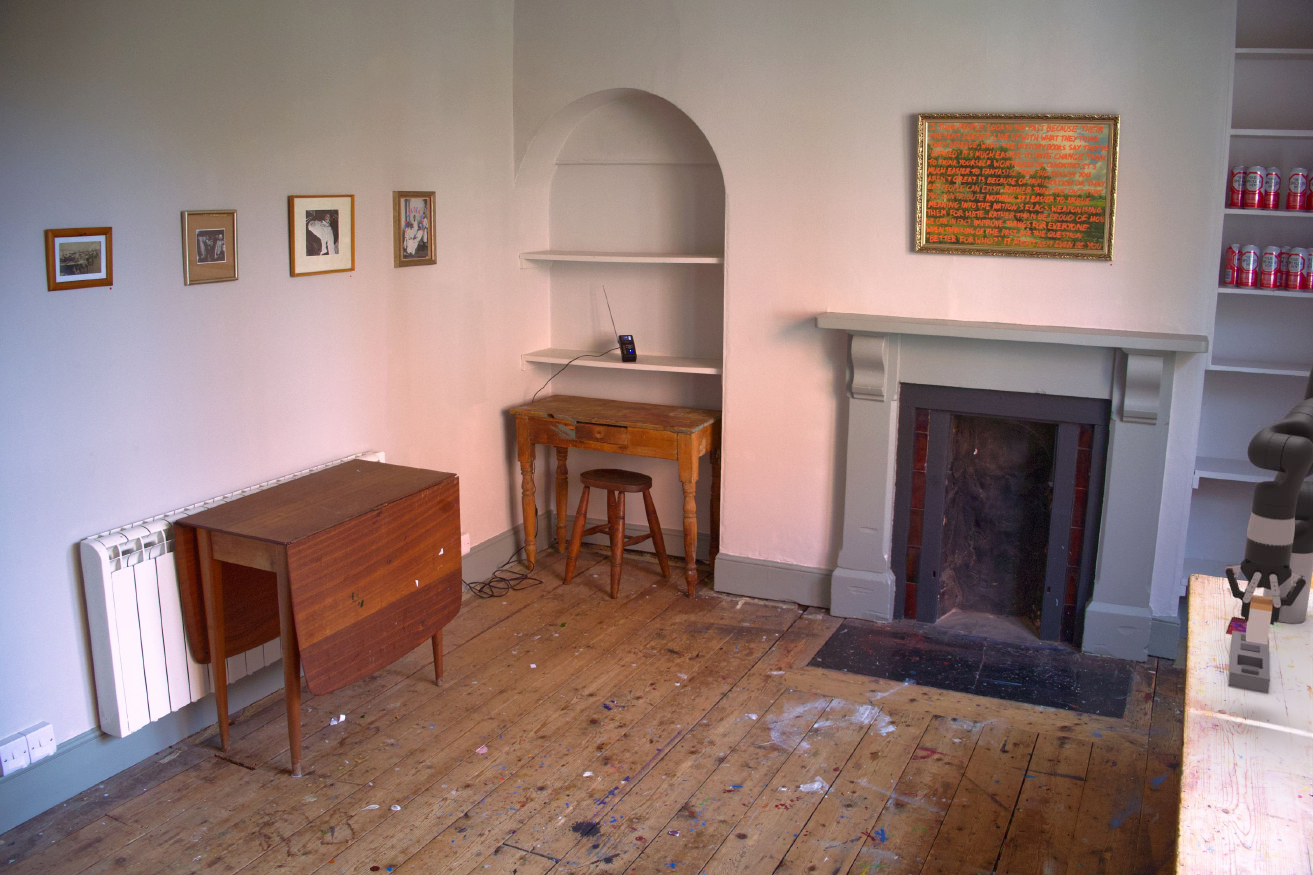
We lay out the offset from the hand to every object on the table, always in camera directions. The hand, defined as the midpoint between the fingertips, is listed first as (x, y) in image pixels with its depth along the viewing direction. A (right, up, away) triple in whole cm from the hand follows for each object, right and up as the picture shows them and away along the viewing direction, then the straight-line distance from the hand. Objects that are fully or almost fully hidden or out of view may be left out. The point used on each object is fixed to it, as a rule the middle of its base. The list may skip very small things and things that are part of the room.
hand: (1259, 620), depth 201 cm
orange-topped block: (0, -4, +1) cm, 4 cm away
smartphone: (+18, -10, +37) cm, 43 cm away
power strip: (+9, -14, +19) cm, 25 cm away
